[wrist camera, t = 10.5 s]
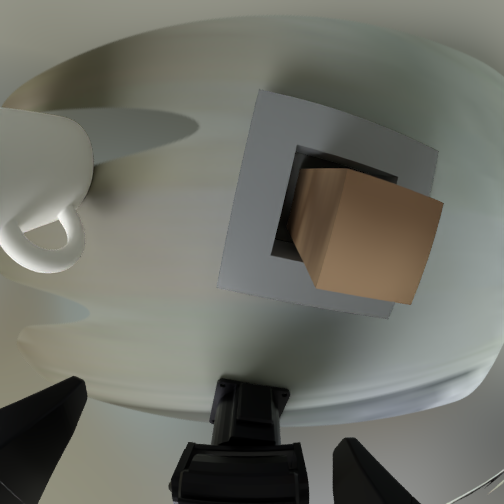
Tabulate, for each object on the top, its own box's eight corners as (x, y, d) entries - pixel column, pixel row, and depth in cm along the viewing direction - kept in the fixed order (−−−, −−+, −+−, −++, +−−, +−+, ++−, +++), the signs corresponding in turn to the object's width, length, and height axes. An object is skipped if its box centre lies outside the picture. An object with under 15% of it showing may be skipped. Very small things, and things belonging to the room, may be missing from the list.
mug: (144, 211, 18) (51, 254, 9) (80, 272, 20) (-2, 333, 10) (69, 97, 16) (-25, 76, 6) (17, 167, 17) (-69, 181, 7)
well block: (367, 293, 20) (388, 318, 16) (224, 264, 19) (216, 287, 16) (407, 152, 17) (438, 151, 13) (258, 106, 16) (259, 89, 12)
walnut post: (341, 239, 19) (410, 304, 9) (286, 227, 19) (315, 288, 9) (355, 184, 18) (443, 202, 8) (299, 168, 18) (347, 168, 8)
